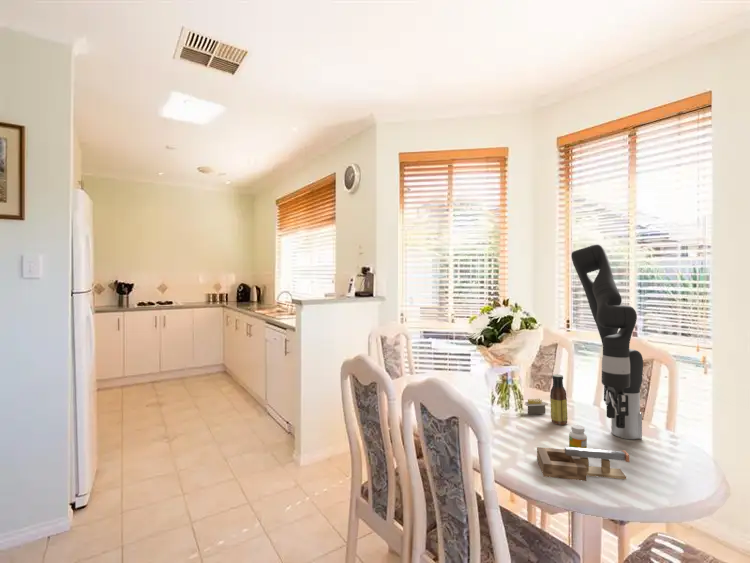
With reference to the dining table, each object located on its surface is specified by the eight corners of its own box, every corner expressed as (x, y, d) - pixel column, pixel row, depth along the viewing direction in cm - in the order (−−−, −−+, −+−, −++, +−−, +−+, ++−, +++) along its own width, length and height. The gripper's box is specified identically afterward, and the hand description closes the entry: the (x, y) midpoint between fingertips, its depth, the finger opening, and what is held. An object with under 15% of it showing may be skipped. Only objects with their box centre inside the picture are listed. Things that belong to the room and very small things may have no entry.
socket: (576, 462, 131) (576, 450, 131) (586, 481, 119) (586, 467, 119) (537, 458, 134) (537, 447, 134) (543, 476, 122) (543, 463, 122)
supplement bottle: (565, 453, 138) (565, 425, 138) (576, 450, 140) (576, 422, 140) (579, 459, 133) (579, 430, 133) (590, 456, 135) (590, 428, 135)
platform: (510, 410, 182) (510, 396, 182) (548, 408, 184) (548, 394, 184) (521, 420, 171) (521, 404, 170) (562, 418, 172) (562, 403, 172)
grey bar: (625, 456, 124) (625, 450, 124) (629, 462, 120) (629, 455, 120) (564, 451, 128) (564, 445, 128) (566, 456, 124) (566, 450, 124)
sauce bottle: (564, 420, 168) (564, 373, 168) (570, 425, 162) (569, 377, 162) (548, 419, 169) (548, 373, 169) (553, 425, 163) (553, 377, 162)
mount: (620, 471, 125) (620, 457, 125) (626, 479, 120) (626, 464, 120) (578, 467, 128) (578, 453, 128) (583, 475, 123) (583, 461, 123)
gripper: (638, 376, 115) (638, 432, 115) (621, 365, 129) (620, 415, 129) (609, 375, 116) (609, 430, 117) (595, 364, 130) (594, 413, 131)
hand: (615, 422), depth 123 cm, fingers open, 8 cm apart
